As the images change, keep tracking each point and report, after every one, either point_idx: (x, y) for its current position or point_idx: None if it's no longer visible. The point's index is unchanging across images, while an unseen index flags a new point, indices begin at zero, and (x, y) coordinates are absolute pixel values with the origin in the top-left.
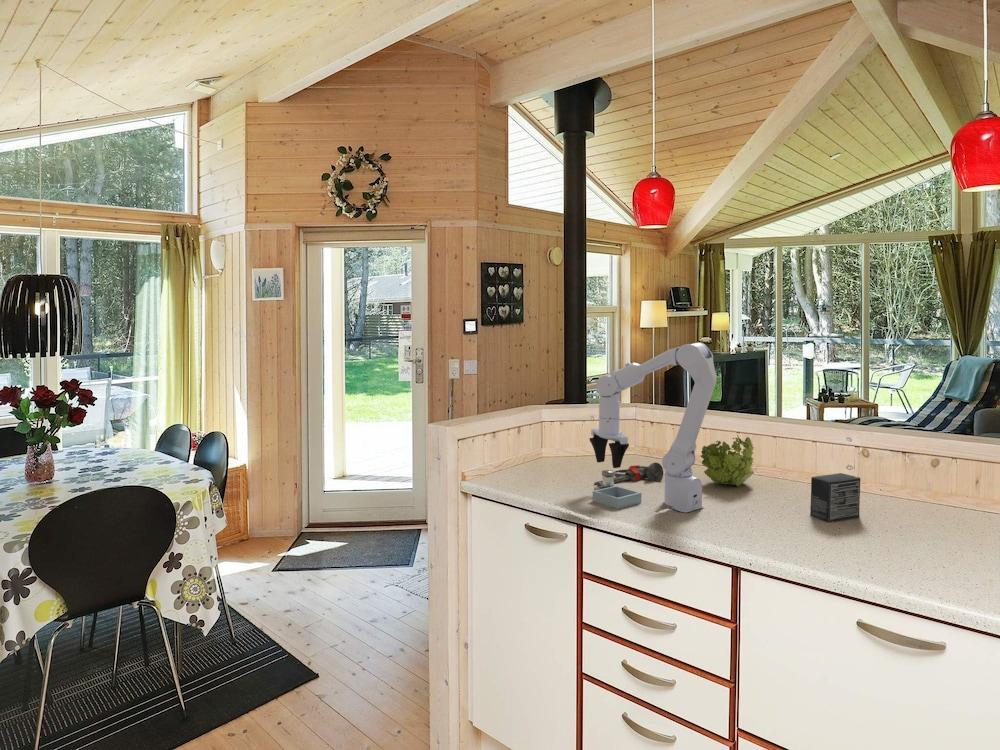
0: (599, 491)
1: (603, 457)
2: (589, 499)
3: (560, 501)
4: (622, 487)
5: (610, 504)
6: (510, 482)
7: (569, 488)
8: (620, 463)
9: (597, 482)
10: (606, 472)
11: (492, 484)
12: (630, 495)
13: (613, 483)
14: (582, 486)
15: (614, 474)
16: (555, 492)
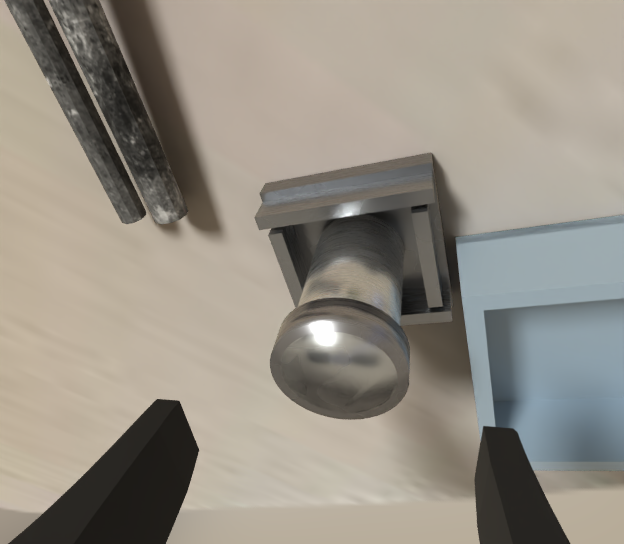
0: None
1: (157, 451)
2: None
3: (355, 467)
4: (546, 290)
5: None
6: (14, 451)
7: (145, 336)
8: (530, 480)
9: (128, 207)
10: (360, 403)
11: (44, 495)
12: None
13: (396, 283)
14: (112, 259)
15: (401, 340)
16: (204, 414)
